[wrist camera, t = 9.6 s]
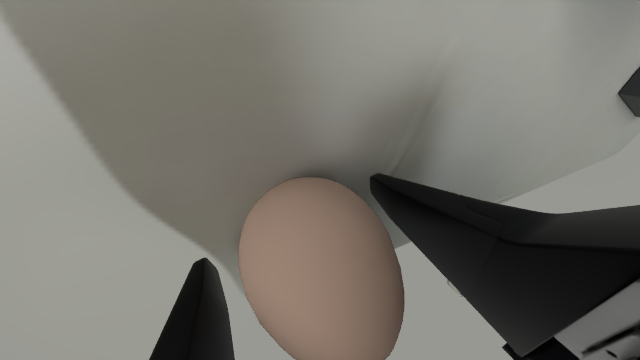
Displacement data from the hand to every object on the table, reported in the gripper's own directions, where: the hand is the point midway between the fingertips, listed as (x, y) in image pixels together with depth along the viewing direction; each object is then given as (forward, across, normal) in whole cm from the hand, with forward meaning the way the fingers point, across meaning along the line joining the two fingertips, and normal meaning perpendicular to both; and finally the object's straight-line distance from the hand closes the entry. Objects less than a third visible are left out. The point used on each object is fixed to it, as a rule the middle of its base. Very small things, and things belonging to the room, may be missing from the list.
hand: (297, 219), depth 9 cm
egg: (+2, 0, 0) cm, 2 cm away
